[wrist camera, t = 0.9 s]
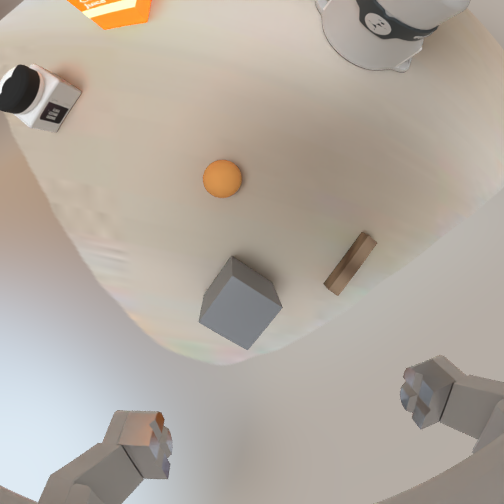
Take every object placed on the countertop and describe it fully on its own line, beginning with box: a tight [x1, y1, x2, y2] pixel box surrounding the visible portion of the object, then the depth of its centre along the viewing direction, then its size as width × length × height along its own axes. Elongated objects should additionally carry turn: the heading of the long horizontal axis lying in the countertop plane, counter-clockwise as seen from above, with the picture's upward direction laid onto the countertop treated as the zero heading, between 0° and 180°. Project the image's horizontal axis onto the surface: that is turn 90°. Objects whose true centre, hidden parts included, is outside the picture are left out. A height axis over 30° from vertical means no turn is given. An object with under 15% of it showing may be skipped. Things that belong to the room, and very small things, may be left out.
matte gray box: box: [199, 256, 283, 350], centre depth 40 cm, size 7×7×9 cm
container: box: [0, 64, 81, 132], centre depth 28 cm, size 8×8×13 cm
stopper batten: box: [324, 232, 377, 296], centre depth 43 cm, size 10×2×2 cm, turn 145°
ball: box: [203, 160, 242, 198], centre depth 37 cm, size 5×5×5 cm
